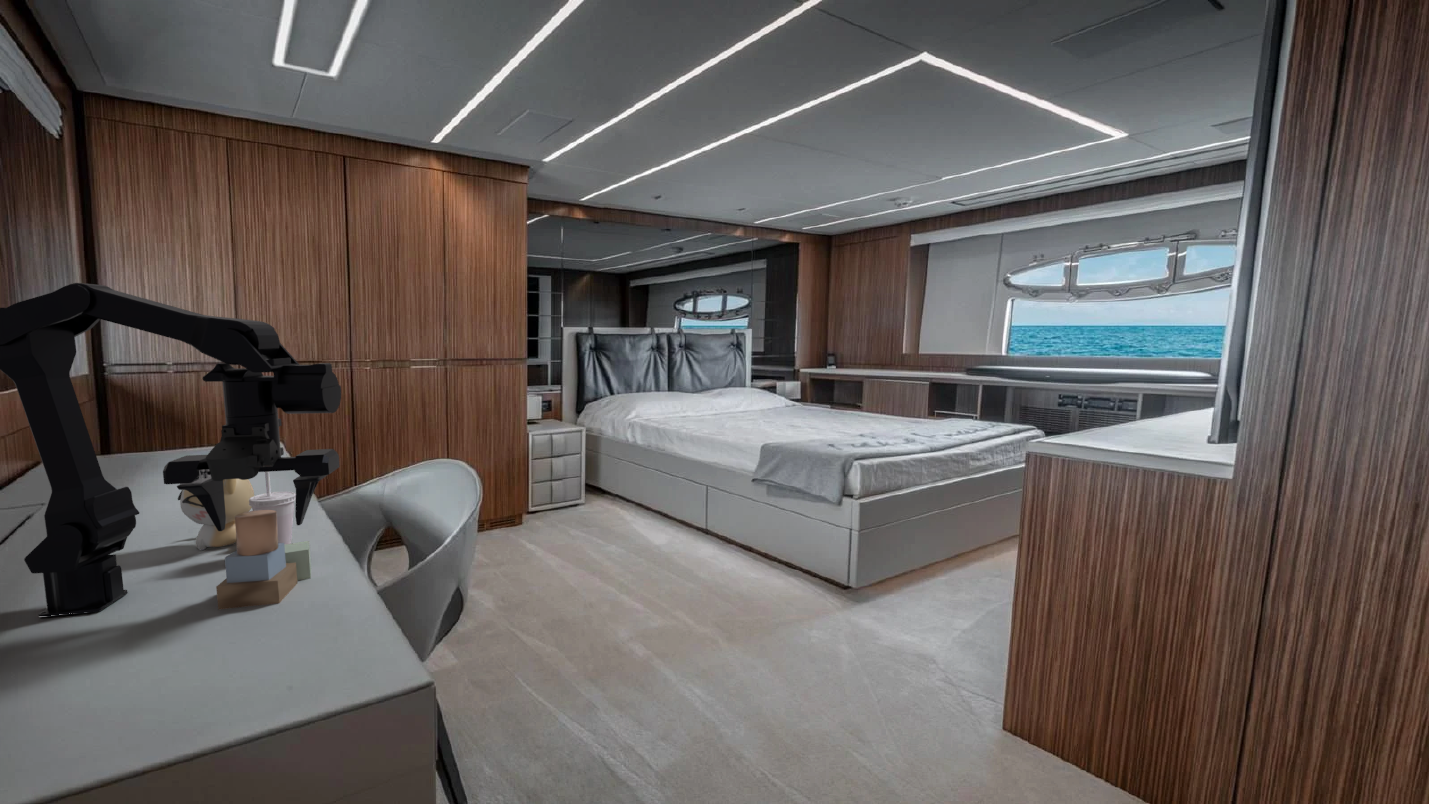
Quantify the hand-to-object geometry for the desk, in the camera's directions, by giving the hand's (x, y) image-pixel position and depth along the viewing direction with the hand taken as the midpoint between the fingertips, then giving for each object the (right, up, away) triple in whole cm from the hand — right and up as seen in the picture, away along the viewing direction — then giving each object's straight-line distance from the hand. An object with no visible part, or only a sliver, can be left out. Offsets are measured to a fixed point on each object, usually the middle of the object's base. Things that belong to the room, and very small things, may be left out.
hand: (261, 527), depth 87 cm
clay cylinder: (0, -3, 0) cm, 3 cm away
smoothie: (-10, -8, +18) cm, 22 cm away
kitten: (-23, -8, +22) cm, 33 cm away
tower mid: (-1, -7, 0) cm, 7 cm away
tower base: (-1, -10, +1) cm, 10 cm away
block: (-1, -9, +8) cm, 12 cm away
